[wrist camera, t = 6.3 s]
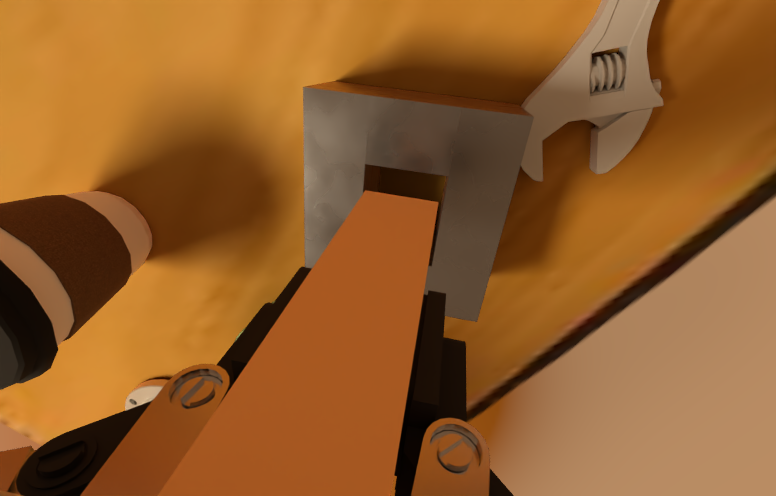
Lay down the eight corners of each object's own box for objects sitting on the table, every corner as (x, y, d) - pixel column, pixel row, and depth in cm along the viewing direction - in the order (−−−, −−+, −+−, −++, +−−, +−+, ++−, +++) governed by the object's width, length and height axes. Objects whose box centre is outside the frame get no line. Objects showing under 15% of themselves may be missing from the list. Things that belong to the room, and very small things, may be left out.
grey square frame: (473, 277, 26) (476, 321, 21) (329, 252, 27) (305, 289, 23) (517, 104, 20) (534, 116, 16) (334, 81, 21) (303, 86, 17)
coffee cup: (51, 245, 31) (-152, 339, 21) (54, 132, 26) (-215, 181, 16) (168, 305, 32) (30, 423, 22) (194, 206, 27) (28, 300, 17)
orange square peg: (438, 202, 14) (375, 590, 4) (423, 283, 16) (356, 681, 6) (365, 190, 15) (138, 524, 4) (359, 271, 17) (194, 631, 6)
